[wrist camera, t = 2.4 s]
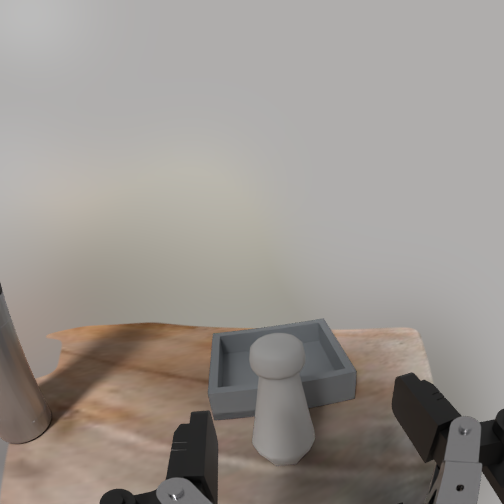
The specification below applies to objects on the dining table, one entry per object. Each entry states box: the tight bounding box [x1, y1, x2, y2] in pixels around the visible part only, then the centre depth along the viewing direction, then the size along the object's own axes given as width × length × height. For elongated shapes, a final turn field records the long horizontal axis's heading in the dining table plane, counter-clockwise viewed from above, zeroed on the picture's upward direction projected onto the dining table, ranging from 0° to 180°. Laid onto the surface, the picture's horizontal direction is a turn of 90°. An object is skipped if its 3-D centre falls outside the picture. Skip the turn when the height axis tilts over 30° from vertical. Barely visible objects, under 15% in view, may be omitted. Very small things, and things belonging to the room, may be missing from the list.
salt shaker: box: [249, 333, 315, 466], centre depth 25 cm, size 6×6×13 cm
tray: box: [208, 319, 357, 420], centre depth 39 cm, size 16×14×4 cm
